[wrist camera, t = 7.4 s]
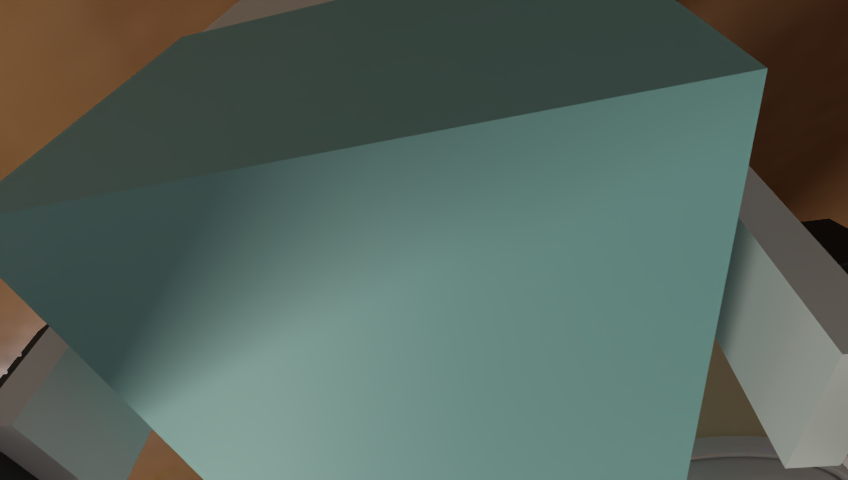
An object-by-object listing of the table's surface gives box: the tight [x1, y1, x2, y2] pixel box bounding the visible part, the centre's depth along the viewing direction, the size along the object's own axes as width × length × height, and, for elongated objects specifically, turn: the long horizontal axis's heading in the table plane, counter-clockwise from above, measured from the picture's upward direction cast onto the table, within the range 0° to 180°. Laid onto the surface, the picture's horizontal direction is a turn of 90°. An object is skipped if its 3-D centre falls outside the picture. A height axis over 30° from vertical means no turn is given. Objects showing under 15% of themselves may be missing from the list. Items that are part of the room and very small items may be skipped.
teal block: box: [0, 0, 768, 480], centre depth 11 cm, size 9×9×7 cm
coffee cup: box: [687, 338, 848, 480], centre depth 21 cm, size 9×9×12 cm
